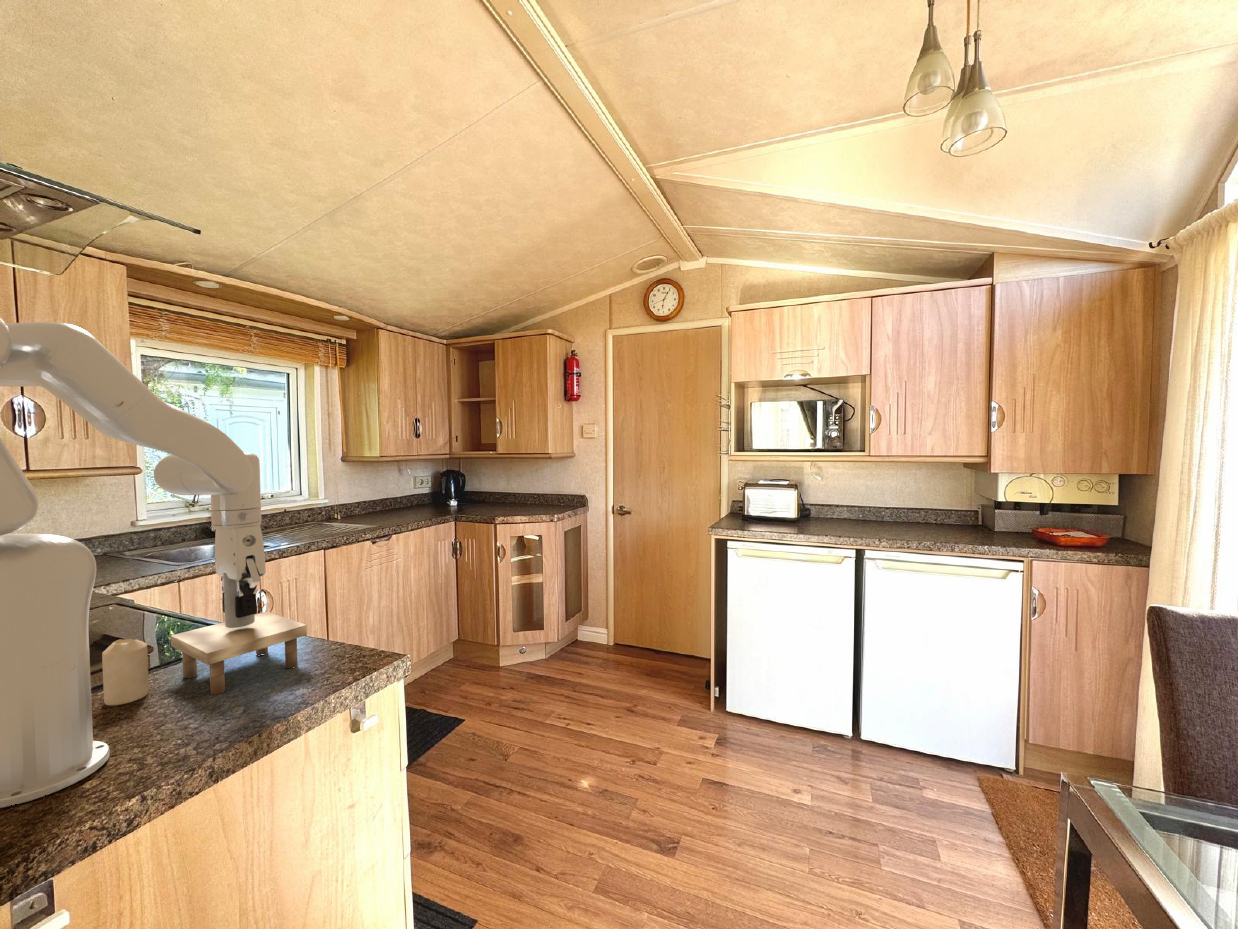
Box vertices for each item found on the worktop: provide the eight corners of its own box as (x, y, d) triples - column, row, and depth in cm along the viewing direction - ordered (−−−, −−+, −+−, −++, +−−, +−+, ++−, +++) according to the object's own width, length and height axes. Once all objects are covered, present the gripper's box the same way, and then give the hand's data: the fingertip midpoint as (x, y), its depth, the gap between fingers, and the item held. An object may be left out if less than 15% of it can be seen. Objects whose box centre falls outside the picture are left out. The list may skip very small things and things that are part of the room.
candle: (157, 690, 90) (155, 634, 89) (128, 705, 84) (126, 646, 84) (125, 690, 89) (123, 634, 89) (94, 706, 84) (91, 647, 84)
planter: (248, 618, 100) (246, 566, 99) (259, 622, 97) (257, 569, 97) (220, 625, 96) (218, 571, 95) (231, 629, 93) (230, 574, 93)
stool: (208, 700, 86) (207, 653, 86) (172, 678, 94) (170, 635, 94) (307, 665, 99) (306, 625, 99) (268, 648, 108) (267, 611, 108)
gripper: (280, 518, 95) (283, 615, 95) (239, 513, 103) (242, 601, 104) (233, 523, 88) (236, 627, 89) (194, 517, 97) (197, 611, 98)
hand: (239, 612), depth 96 cm, fingers closed on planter, 4 cm apart
